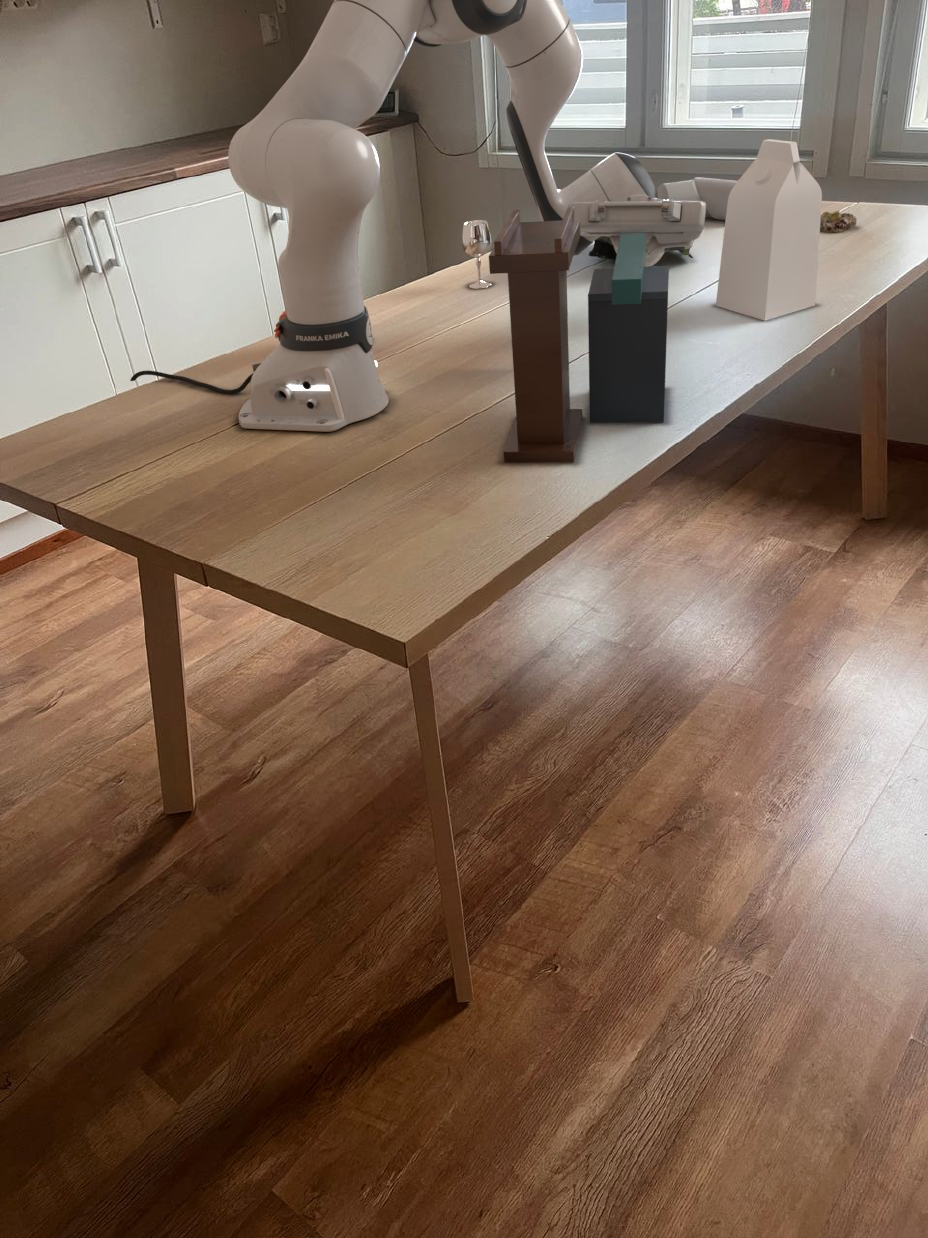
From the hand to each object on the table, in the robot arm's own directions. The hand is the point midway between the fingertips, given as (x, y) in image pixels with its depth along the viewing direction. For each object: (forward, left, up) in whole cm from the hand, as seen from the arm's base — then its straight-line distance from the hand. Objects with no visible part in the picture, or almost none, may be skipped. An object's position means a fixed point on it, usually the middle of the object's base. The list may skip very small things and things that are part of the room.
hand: (633, 206), depth 135 cm
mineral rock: (+46, +78, -23) cm, 94 cm away
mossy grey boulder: (+2, +64, -23) cm, 68 cm away
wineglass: (-28, +50, -23) cm, 62 cm away
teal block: (-1, -16, -6) cm, 17 cm away
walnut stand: (-13, -27, -23) cm, 38 cm away
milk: (+24, +26, -23) cm, 43 cm away
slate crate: (-1, -16, -23) cm, 28 cm away
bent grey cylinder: (+22, +93, -23) cm, 99 cm away
